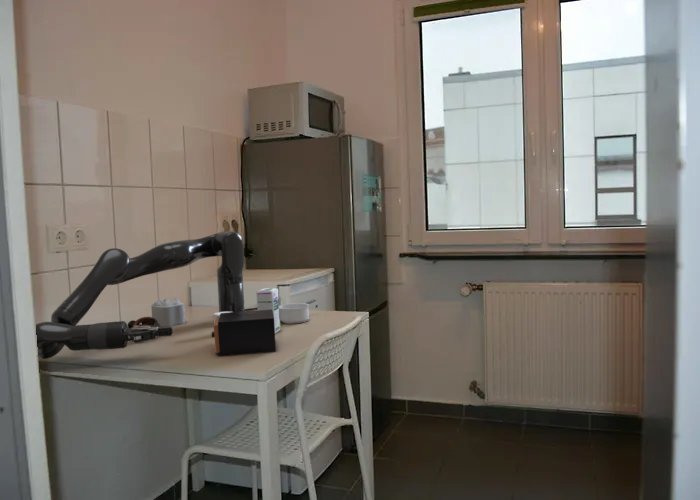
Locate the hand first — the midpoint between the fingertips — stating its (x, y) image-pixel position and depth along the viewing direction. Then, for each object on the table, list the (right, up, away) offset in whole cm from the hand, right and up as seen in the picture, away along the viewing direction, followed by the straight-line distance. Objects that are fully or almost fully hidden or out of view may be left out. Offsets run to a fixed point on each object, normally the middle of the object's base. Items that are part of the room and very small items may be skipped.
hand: (172, 331), depth 159 cm
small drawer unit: (+20, -6, +8) cm, 22 cm away
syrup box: (+24, -5, +27) cm, 37 cm away
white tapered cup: (+9, -5, +28) cm, 30 cm away
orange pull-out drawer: (+18, -5, +7) cm, 20 cm away
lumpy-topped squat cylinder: (-18, -4, +50) cm, 53 cm away
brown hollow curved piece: (-17, -6, +25) cm, 31 cm away
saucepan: (+33, -3, +47) cm, 57 cm away
